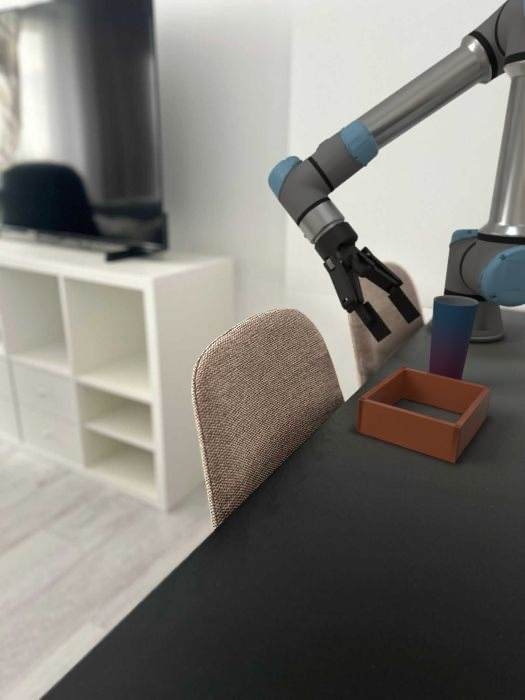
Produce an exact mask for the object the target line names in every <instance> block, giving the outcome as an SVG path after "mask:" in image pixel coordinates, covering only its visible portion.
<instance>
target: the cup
mask: <svg viewBox="0 0 525 700" xmlns="http://www.w3.org/2000/svg"><path fill="white" fill-rule="evenodd" d="M443 295H444V294H443ZM443 295H437V296H434V297H433V302H432V303H433V304H432V319H431V323H432V330H431V332H430V333H431V335H430V350H429V351H430V352H429V353H430V354H429V365H428V366H429V368H428V373H432V374H436V375H440V376H445V377H449V378H453V379H457V380H462V378H463V374H464V370H465V365H466V360H467V356H468V352H469V347H470V343H471V342H470V339H471V334H472V330H473V325H474V321H475V316H476V312H477V308H478V303H479V302H478V301H477V300H475V299H472V298H468V297H462V296H452V295H444V296H443Z"/></svg>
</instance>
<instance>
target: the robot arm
mask: <svg viewBox="0 0 525 700" xmlns="http://www.w3.org/2000/svg"><path fill="white" fill-rule="evenodd" d="M504 74H506V75H507V76H508V77H509V79H510V84H509V91H508V96H507V102H506V110H505V115H504V122H503V128H502V132H501V133H502V135H501V140H500V145H499V146H500V147H499V152H498V157H497V166H496V171H495V177H494V184H493V188H492V189H493V191H492V196H491V202H490V208H489V215H488V219H487V222H486V223H485V224H484V225H482V226H480V228H463V229H461V228H460V229H456V230H454V231H453V232H452V234H451V238H450V242H449V244H448V248H449V250H448V257H447V265H446V272H445V273H446V274H445V280H444V289H443V295H442V296H444V295H452V296H462V297H468V298H472V299H475V300H477V301H478V302H479V303H478V308H477V312H476V316H475V321H474V325H473V330H472V334H471V339H470V343H491V342H496V341H499V340H501V339H502V338H503V336H504V324H503V318H502V312H501V311H502V310H501V307H505V308H514V307H515V308H517V307H520V306H523V305H525V0H505V1H504V2H503V4H502V5H500V6H499V7H497V9H496V10H495V11H493V12H492V14H491V15H489V16H488V17H487V18H486V19H485V20H484V21H483V22H481V23H480V25H478V26H477V27H476V28H474V29H473V30H472V31H470V32H469V33H467V34H466V35H464V37H462V39H461V40H460V44H459V46H458V47H457V48H456V49H454V50H453V51H452V52H450V53H449V54H447V55H445V56H444V57H443V58H442V59H440V60H439V61H437V62H435V64H433V65H431V66H430V67H428V68H427V69H425V70H424V71H422V72H421V73H420V74H419V75H417V76H415V77H414V78H413V79H412V80H410V81H408V82H407V83H406V84H404V85H403V86H402V87H400V88H399V89H397V90H396V91H394V92H392V93H391V94H390V95H389V96H387V97H385V98H384V99H383V100H382V101H380V102H379V103H377V104H375V105H374V106H372V107H371V108H370V109H368V110H367V111H366V112H364V113H363V114H361V115H359V117H357V118H355V119H354V120H352V121H351V122H350V123H348V124H347V125H346V126H343V127H342V128H341V129H340V130H339V131H337V132H336V133H334V134H333V135H332V136H330V137H328V138H326V139H324V140H323V141H322V142H321V143H319V144H318V146H317V147H316V149H315V151H314V152H313V153H312V154H311V155H310V156H308V157H307V158H304V160H303V159H300V157H299V156H296V155H289V156H287V157H286V158H285V159H282V160H280V161H279V162H278V163H276V165H275V166H273V168H272V169H271V170H270V173H269V175H268V178H267V182H268V187H269V189H270V190H271V191H272V193H273V194H274V196H275V197H276V199H277V201H278V202H279V203H280V205H281V206H282V207H283V209H284V210H285V211H286V213H287V214H288V215H289V217H290V218H291V219H292V220H293V222H294V223H295V224H296V226H297V227H298V228H299V229H300V231H301V232H302V234H303V237H304V238H305V239H306V240H307V241H308V242H309V243H310V244H311V245H313V246H314V250H315V252H316V253H317V254H318V256H319V257H320V258H321V260H322V261H323V263H322V265H323V268H324V269H325V270H326V272H327V274H328V275H329V278H330V280H331V283H332V285H333V287H334V290H335V293H336V295H337V298H338V301H339V303H340V306H341V308H342V309H343V310H344V311H346V312H347V313H348V314H349V315H350V314H352V313H353V312H355V313H356V315H357V316H358V318H359V319H360V321H361V322H362V324H364V326H365V327H366V328H367V329H368V331H369V332H370V334H371V336H373V338H374V340H375V341H376V342H377V343H380V342H381V341H383V340H384V339H386V338H387V337H389V336H390V335H391V334H392V333H393V332H392V331H391V329H390V328H389V326H388V325H387V324H386V323H385V321H384V320H383V318H382V317H381V316H380V314H379V313H378V312H377V310H376V309H375V308H374V307H373V305H372V304H371V302H370V301H369V300H367V301H365V297H364V294H363V289H362V286H361V285H362V284H361V281H360V279H366V280H368V281H369V282H370V283H372V284H374V285H375V286H377V287H378V288H379V289H381V290H382V291H384V292H386V293H387V294H388V295H387V298H388V299H389V301H390V302H391V304H392V305H393V306H394V307H395V309H396V310H397V312H399V314H400V315H401V316H402V318H403V319H404V321H405V322H406V323H407V324H408V325H410V324H411V323H413V322H414V321H415V320H417V319H418V318H419V317H421V316H422V314H421V313H420V312H419V310H418V309H417V307H416V306H415V305H414V304H413V302H412V301H411V300H410V298H409V297H408V296H407V294H406V293H405V292H404V291H403V290H402V288H401V287H402V286H403V285H404V281H403V280H402V279H401V278H400V277H399V276H398V275H397V274H396V273H395V272H393V270H391V269H390V268H389V267H388V266H387V265H386V264H384V263H383V262H382V261H381V260H380V259H379V258H378V257H377V256H375V255H374V253H373V252H372V251H371V250H370V249H369V247H367V246H364V247H362V249H359V248H358V247H357V246H356V244H357V242H358V240H359V235H358V232H356V230H355V229H354V228H353V227H352V225H351V224H350V223H349V222H348V221H345V219H346V218H345V217H346V216H345V215H344V214H343V212H341V210H340V209H339V208H338V207H337V205H336V204H335V203H334V202H333V201H332V199H331V198H330V197H329V195H330V194H332V193H333V192H334V191H335V190H336V189H337V188H339V187H340V186H341V185H343V184H344V183H345V182H346V181H348V180H349V179H351V178H352V177H353V176H354V175H356V174H357V173H358V172H359V171H361V170H362V169H363V168H365V167H367V166H368V164H369V163H371V162H372V161H373V160H374V158H376V157H377V156H378V155H379V152H380V150H381V149H383V148H385V147H386V146H388V144H390V143H392V142H393V141H395V140H396V139H398V138H399V137H400V136H402V135H404V134H405V133H406V132H408V131H410V130H411V129H413V128H414V127H416V126H417V125H419V124H420V123H421V122H423V121H424V120H426V119H427V118H429V117H430V116H432V115H433V114H435V113H436V112H438V111H439V110H441V109H442V108H444V107H445V106H447V105H448V104H450V103H451V102H453V101H454V100H456V99H457V98H459V97H460V96H462V95H463V94H464V93H466V92H467V91H469V90H470V89H472V88H473V87H475V86H476V85H478V84H480V85H487V84H488V83H490V82H492V81H493V80H495V79H497V78H498V77H500V76H501V75H504ZM430 330H431V331H432V322H430Z"/></svg>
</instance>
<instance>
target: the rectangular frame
mask: <svg viewBox="0 0 525 700" xmlns="http://www.w3.org/2000/svg"><path fill="white" fill-rule="evenodd" d="M491 393H492V387H491V386H488V385H483V384H479V383H474V382H470V381H466V380H462V379H461V380H457V379H453V378H449V377H445V376H440V375H436V374H432V373H429V372H428V371H423V370H418V369H414V368H410V367H406V366H401V367H400V368H398V369H396V371H394V372H392V373H391V374H390V375H389V376H387V377H386V378H385V379H383V380H382V381H381V382H380V383H378V384H376V385H375V386H374V387H373V388H371V389H370V390H368V391H367V392H366V393H365V394H363V395H362V396H361V397H359V398H358V402H357V414H356V424H355V432H356V433H359V434H362V435H365V436H369V437H372V438H375V439H378V440H380V441H384V442H387V443H390V444H393V445H396V446H399V447H402V448H406V449H408V450H412V451H415V452H418V453H421V454H423V455H428V456H430V457H433V458H436V459H438V460H439V459H440V460H442V461H446V462H448V463H451V464H456V462H457V460H458V459H459V457H460V456H461V455H462V453H463V452H464V450H466V448H467V447H468V445H469V444H470V442H471V440H472V439H473V438H474V436H475V435H476V434H477V432H478V431H479V429H480V428H481V427H482V425H483V424H484V422H485V421H486V419H487V417H488V412H489V407H490V400H491ZM401 399H405V400H409V401H412V402H416V403H419V404H424V405H428V406H430V407H431V406H432V407H435V408H438V409H442V410H445V411H450V412H453V413H458V414H461V416H460V418H459V419H458V420H457V422H455V423H454V422H451V421H448V420H443V419H440V418H436V417H433V416H430V415H426V414H422V413H419V412H416V411H411V410H408V409H404V408H402V407H401V408H400V407H397V406H394V405H395V404H396V403H397V402H399V401H400V400H401Z"/></svg>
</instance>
